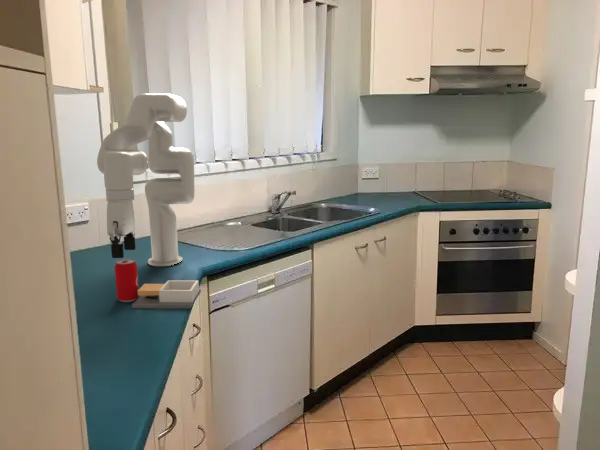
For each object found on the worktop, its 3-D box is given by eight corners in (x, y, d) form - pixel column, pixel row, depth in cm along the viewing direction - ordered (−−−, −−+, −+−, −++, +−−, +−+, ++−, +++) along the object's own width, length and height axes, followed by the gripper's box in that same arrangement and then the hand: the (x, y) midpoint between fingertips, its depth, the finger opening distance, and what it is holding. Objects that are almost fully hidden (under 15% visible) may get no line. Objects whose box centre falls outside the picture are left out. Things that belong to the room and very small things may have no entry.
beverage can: (141, 295, 154) (139, 257, 152) (136, 303, 148) (133, 263, 146) (121, 296, 154) (118, 258, 152) (114, 303, 148) (111, 263, 146)
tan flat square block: (145, 291, 154) (144, 283, 153) (166, 291, 154) (165, 283, 153) (138, 298, 148) (137, 290, 147) (160, 299, 147) (159, 290, 147)
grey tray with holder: (147, 291, 158) (146, 277, 157) (200, 291, 158) (200, 278, 157) (132, 308, 144) (130, 293, 143) (190, 308, 144) (189, 293, 143)
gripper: (118, 191, 153) (122, 246, 156) (94, 199, 136) (99, 261, 139) (143, 191, 153) (146, 246, 156) (122, 199, 136) (126, 261, 139)
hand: (124, 253), depth 148 cm, fingers open, 9 cm apart
